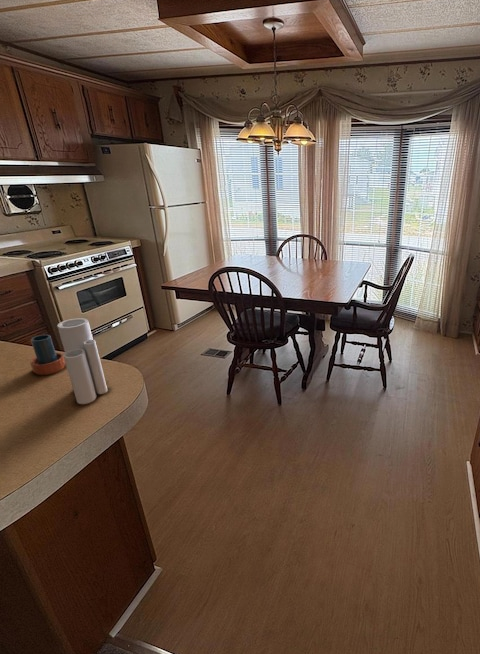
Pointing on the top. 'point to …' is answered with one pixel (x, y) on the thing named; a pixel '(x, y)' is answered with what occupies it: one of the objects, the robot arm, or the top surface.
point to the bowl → (48, 365)
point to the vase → (82, 360)
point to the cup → (44, 349)
